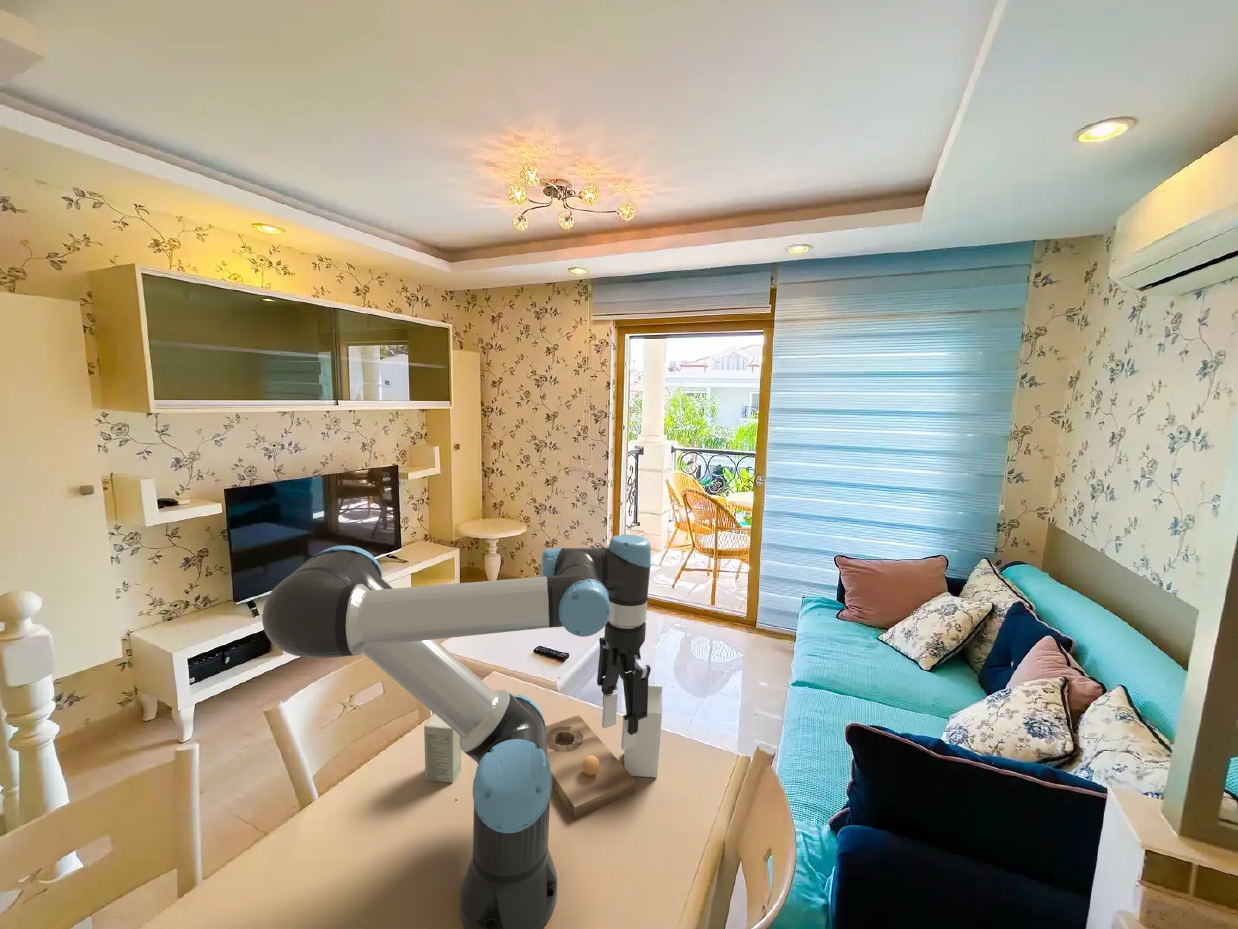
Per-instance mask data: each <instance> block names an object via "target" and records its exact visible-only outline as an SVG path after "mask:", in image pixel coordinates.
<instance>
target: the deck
mask: <svg viewBox="0 0 1238 929" xmlns="http://www.w3.org/2000/svg"><path fill="white" fill-rule="evenodd" d="M546 741H547V757H548V760H549V763H550V768H551V773H552V788H553V789H554V791H555V792H556V793H557V795H558V796H559V798H560V800H561V801H562V803H563V804H564V806H565V807H566V809H567V811H568V812H569V814H570V815H571V817H572V818H573V819H574V820H575V819H577V818H579V817H581V816H584V815H586V814H588V813H590V812H592V811H594V810H597V809H598V808H601V807H603V806H605V805H607V804H609V803H611V802H614V801H615V800H618V799H620V798H622V797H624V796H626V795H628V794H631V793H633V792H634V791H635V782H636V780H635V778H634V776H631V775H630V774H629V773H628V771H627V770H626V769H625V768H624V766H623V764H622V763H621V762H620V761H619V760H618V759H617V758H616V756H615V755H614V754H613V752H611V750H610V749H609V748H608V746H606V745H605V744H604V742H603V740H601V738H599V737H598V735H597V734H596V733H595V732H594V731H593V729H592V728H591V727H590V726H589V725H588V724H587V722H586V721H585V720H584V719H583V718H582V717H581V716H580V714H577V715H574V716H572V717H569V718H565V719H563V720H560V721H557V722H554V723H551V724H548V725H546ZM560 743H569V744H567V745H560ZM590 755H593V756H595V757H597V758H598V760H599V762H600V768H599V771H598V772H597V773H596V774H595V775H592V776H590V775H587V774H586V773H585V772H584V770H583V761H584V759H585V758H586V757H587V756H590Z"/></svg>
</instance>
